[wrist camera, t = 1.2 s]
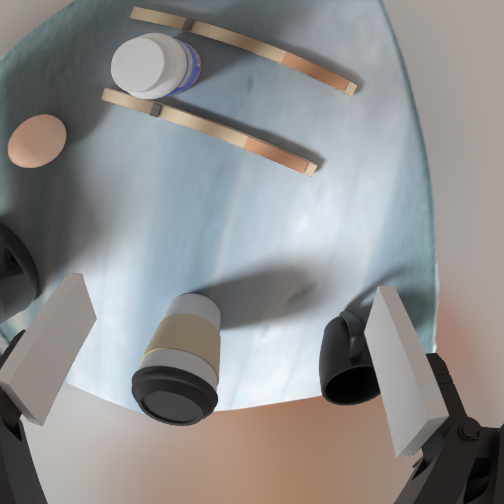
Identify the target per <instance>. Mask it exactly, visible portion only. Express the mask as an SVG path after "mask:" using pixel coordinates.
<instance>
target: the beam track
mask: <svg viewBox="0 0 504 504" xmlns="http://www.w3.org/2000/svg"><path fill="white" fill-rule="evenodd" d="M129 18H132V19H136V20H141V21H146V22H150V23H155V24H159V25H163V26H168V27H172V28H176V29H179V30H183V31H187V32H191V33H194V34H198V35H201V36H204V37H208V38H211V39H214V40H217V41H220V42H224V43H227V44H230V45H232V46H235V47H238V48H241V49H244V50H247V51H249V52H252V53H255V54H257V55H260V56H263V57H265V58H268V59H270V60H273V61H275V62H278V63H280V64H283V65H285V66H287V67H290V68H292V69H294V70H297V71H299V72H301V73H303V74H306V75H308V76H310V77H312V78H314V79H316V80H318V81H321V82H323V83H325V84H327V85H329V86H331V87H333V88H335V89H337V90H339V91H341V92H343V93H345V94H347V95H348V96H352V95H353V93H354V91H355V89H356V87H357V85H355V84H353V83H351V82H350V81H348V80H346V79H345V78H343V77H341V76H339V75H337V74H335V73H333V72H331V71H329V70H327V69H325V68H322V67H320V66H318V65H316V64H314V63H312V62H310V61H307V60H305V59H303V58H301V57H298V56H296V55H294V54H291V53H289V52H287V51H283V50H281V49H279V48H276V47H274V46H271V45H268V44H266V43H263V42H261V41H258V40H255V39H252V38H250V37H247V36H244V35H241V34H238V33H235V32H232V31H229V30H226V29H223V28H220V27H217V26H213V25H210V24H206V23H203V22H199V21H196V20H193V19H189V18H184V17H180V16H176V15H172V14H168V13H163V12H159V11H154V10H149V9H144V8H139V7H133V10H132V12H131V15H130V17H129ZM101 100H104V101H107V102H111V103H114V104H118V105H121V106H125V107H128V108H131V109H134V110H138V111H141V112H144V113H147V114H150V115H151V116H154V117H160V118H163V119H166V120H169V121H172V122H175V123H177V124H180V125H183V126H186V127H189V128H192V129H195V130H197V131H200V132H203V133H206V134H208V135H211V136H214V137H216V138H219V139H222V140H224V141H227V142H230V143H232V144H235V145H237V146H240V147H242V148H243V149H245V150H248V151H250V152H253V153H255V154H258V155H260V156H263V157H265V158H268V159H270V160H272V161H275V162H277V163H279V164H282V165H284V166H286V167H289V168H291V169H293V170H296V171H298V172H300V173H302V174H303V173H304V174H306V175H309V176H311V177H312V175H313V173H314V171H315V169H316V167H317V165H316V163H314V162H312V161H310V160H308V159H305V158H303V157H301V156H299V155H296V154H294V153H292V152H290V151H287V150H285V149H283V148H280V147H278V146H276V145H273V144H271V143H269V142H266V141H264V140H261V139H259V138H256V137H254V136H251V135H249V134H246V133H244V132H241V131H239V130H236V129H234V128H231V127H228V126H226V125H223V124H220V123H218V122H215V121H212V120H210V119H207V118H204V117H201V116H198V115H196V114H193V113H190V112H187V111H184V110H181V109H178V108H175V107H172V106H169V105H166V104H163V103H160V102H156V101H153V100H150V99H140V98H137V97H135V96H132V95H131V94H129V93H126V92H123V91H119V90H115V89H112V88H105V89H104V92H103V96H102V99H101Z"/></svg>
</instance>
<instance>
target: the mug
mask: <svg viewBox="0 0 504 504" xmlns="http://www.w3.org/2000/svg"><path fill="white" fill-rule="evenodd" d="M365 328H366V325H365V324H364V322H363V321H362V320H361V319H360V318H359V317H357V316H356V315H354V314H353V313H352V312H350V311H342V312H341V313H340V315H339V317H337V318H335V319H333V320H332V321H330V322H329V323H328V325H327V326H326V328H325V330H324V336H323V340H322V345H321V351H320V359H319V375H320V384H321V391H322V395H323V397H324V398H325V399H326V400H327V401H329V402H331V403H333V404H338V405H355V404H360V403H363V402H366V401H369V400H371V399H373V398H375V397H377V396H378V395H380V394H381V391H380V387H379V384H378V380H377V376H376V372H375V369H374V365H373V361H372V358H371V354H370V351H369V347H368V344H367V341H366V337H365V334H364V331H365Z"/></svg>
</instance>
